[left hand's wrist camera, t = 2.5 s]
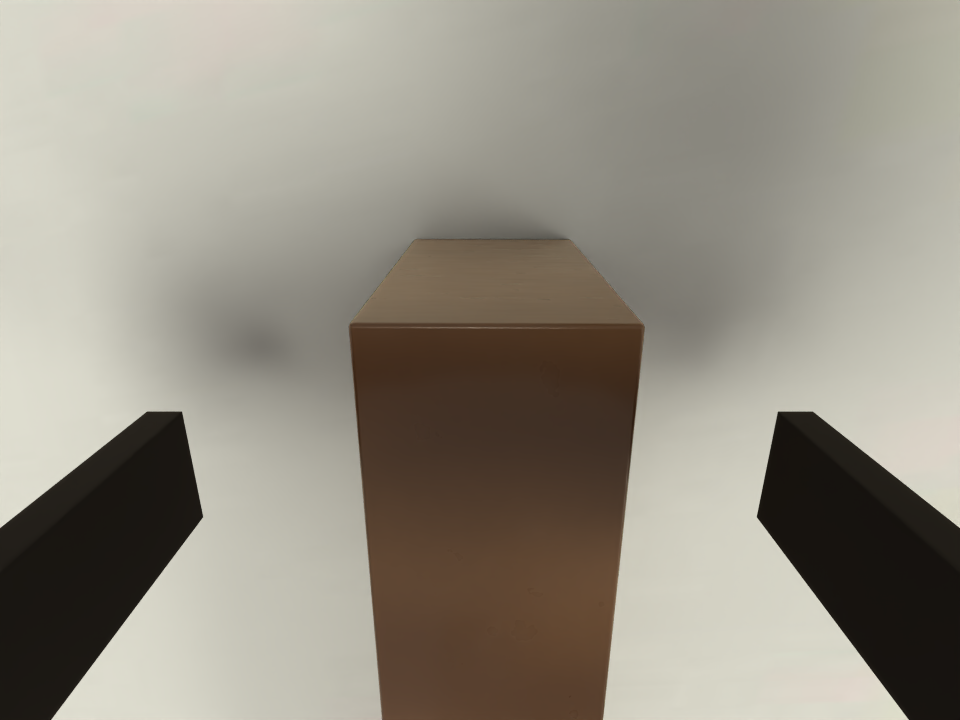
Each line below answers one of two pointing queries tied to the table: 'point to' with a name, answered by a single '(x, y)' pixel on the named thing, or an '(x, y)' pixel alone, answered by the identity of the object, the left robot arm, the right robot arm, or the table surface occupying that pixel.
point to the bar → (494, 476)
